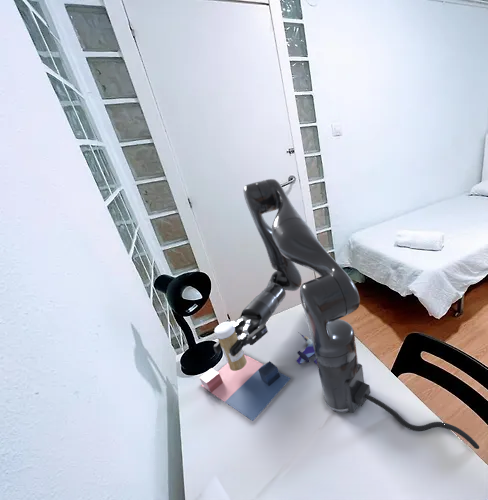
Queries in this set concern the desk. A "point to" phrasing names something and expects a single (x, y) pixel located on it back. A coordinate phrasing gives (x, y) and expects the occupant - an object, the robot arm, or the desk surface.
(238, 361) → the sprinkles bottle
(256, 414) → the sorting board
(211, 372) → the pink block
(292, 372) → the desk surface
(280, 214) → the robot arm
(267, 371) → the blue block
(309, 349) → the toy airplane
